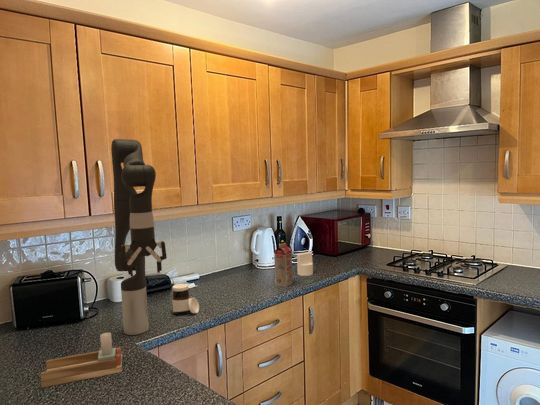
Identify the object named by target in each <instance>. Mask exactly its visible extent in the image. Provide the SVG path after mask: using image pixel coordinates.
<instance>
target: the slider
mask: <svg viewBox="0 0 540 405" xmlns="http://www.w3.org/2000/svg"><path fill="white" fill-rule="evenodd" d="M99 337H100V338H99V339H100V349H99V350H98V351H99V355H98V361H103V360H109V359H114V358H116V348H117V347H113V342H112V333H111V332H103V333H101V334H100V335H99Z"/></svg>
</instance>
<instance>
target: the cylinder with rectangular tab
mask: <svg viewBox="0 0 540 405" xmlns="http://www.w3.org/2000/svg"><path fill="white" fill-rule="evenodd" d="M296 256H297V257H296V260H297V263H296V268H297V271H296V272H297V275H298V276H301V277H302V276H303V277H308V276H312V275H314V263H313V252H310V251H307V252H300V253H297V255H296Z"/></svg>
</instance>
